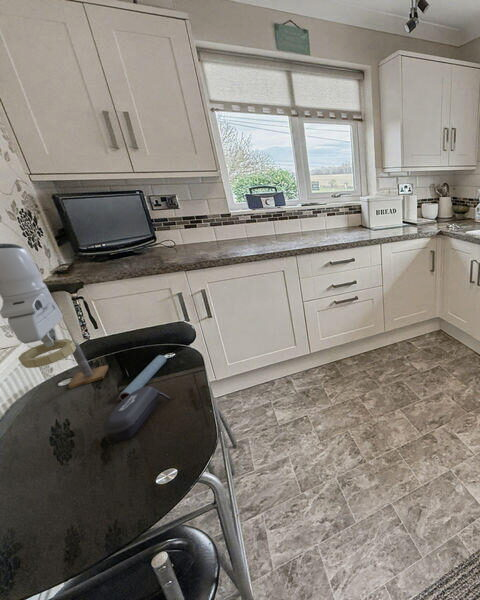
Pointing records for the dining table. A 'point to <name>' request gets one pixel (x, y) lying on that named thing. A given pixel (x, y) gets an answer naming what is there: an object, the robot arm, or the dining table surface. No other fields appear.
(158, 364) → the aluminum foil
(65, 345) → the tape
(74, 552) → the dining table surface
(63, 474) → the dining table surface
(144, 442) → the dining table surface
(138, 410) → the glasses case
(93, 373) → the stand
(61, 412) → the dining table surface
